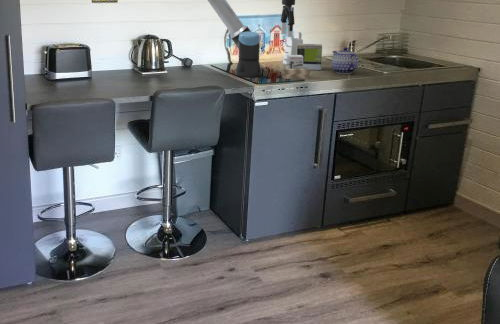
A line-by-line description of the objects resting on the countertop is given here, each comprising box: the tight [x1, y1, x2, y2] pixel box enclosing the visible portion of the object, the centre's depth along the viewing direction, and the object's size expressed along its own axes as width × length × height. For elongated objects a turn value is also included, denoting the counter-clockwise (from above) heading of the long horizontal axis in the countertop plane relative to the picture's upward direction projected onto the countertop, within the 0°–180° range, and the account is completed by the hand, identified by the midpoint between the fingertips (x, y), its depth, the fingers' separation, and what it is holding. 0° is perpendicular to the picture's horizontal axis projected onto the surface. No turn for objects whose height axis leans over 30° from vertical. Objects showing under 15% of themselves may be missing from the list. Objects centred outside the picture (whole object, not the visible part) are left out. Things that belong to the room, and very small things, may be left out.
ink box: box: [285, 55, 303, 69], centre depth 325 cm, size 9×5×12 cm, turn 103°
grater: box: [282, 31, 304, 65], centre depth 365 cm, size 10×10×20 cm
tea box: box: [297, 43, 323, 71], centre depth 350 cm, size 15×10×15 cm, turn 84°
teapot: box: [331, 46, 359, 75], centre depth 340 cm, size 25×15×15 cm, turn 24°
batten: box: [281, 68, 311, 80], centre depth 320 cm, size 15×3×5 cm, turn 103°
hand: (286, 35), depth 335 cm, fingers open, 13 cm apart
